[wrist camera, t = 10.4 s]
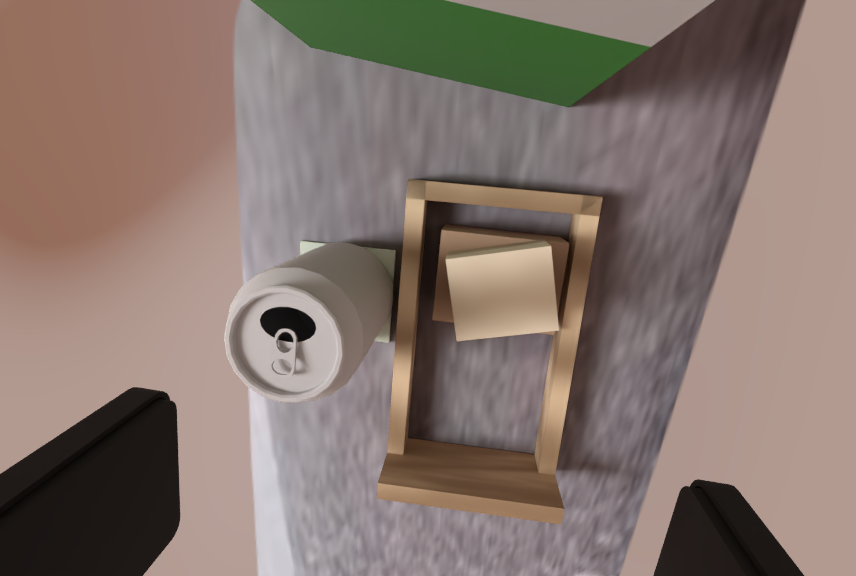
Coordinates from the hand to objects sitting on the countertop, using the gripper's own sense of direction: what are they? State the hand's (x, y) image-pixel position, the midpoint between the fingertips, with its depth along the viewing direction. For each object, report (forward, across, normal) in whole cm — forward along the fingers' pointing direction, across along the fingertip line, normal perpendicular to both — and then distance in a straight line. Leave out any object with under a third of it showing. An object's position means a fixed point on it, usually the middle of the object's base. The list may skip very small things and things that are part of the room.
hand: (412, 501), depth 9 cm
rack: (+26, -2, +6) cm, 27 cm away
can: (+26, +8, +4) cm, 27 cm away
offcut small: (+22, -3, +1) cm, 23 cm away
